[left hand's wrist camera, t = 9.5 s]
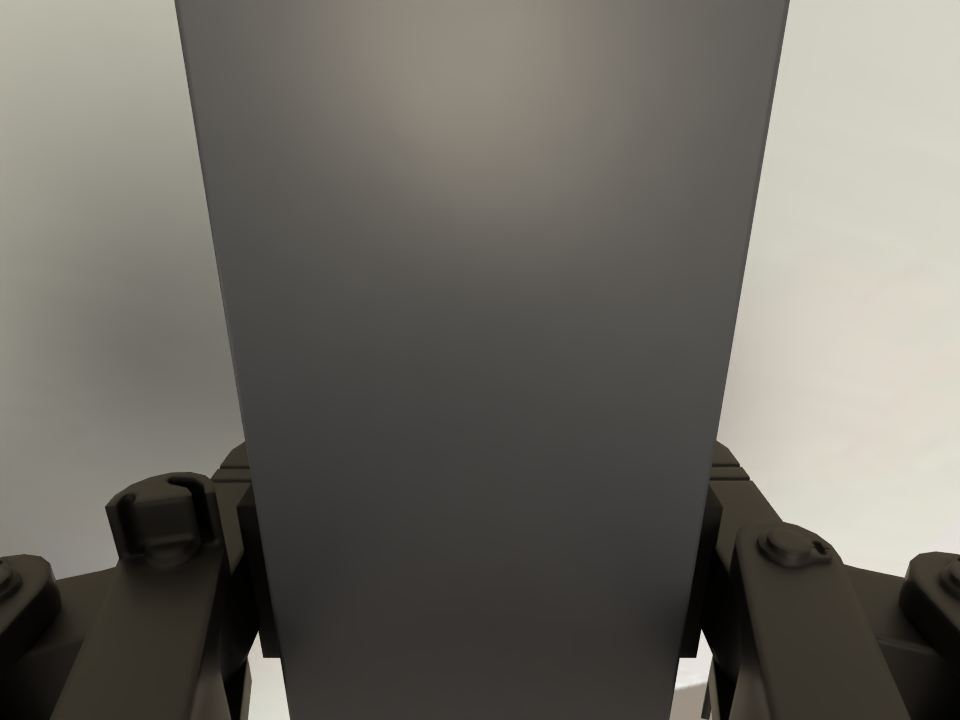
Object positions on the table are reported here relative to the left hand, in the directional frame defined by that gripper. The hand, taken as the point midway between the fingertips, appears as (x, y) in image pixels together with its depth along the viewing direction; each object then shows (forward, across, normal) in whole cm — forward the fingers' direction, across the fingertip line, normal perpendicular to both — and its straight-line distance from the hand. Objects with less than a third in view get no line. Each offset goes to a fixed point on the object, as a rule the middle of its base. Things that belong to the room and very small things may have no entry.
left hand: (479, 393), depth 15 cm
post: (+1, 0, -33) cm, 33 cm away
